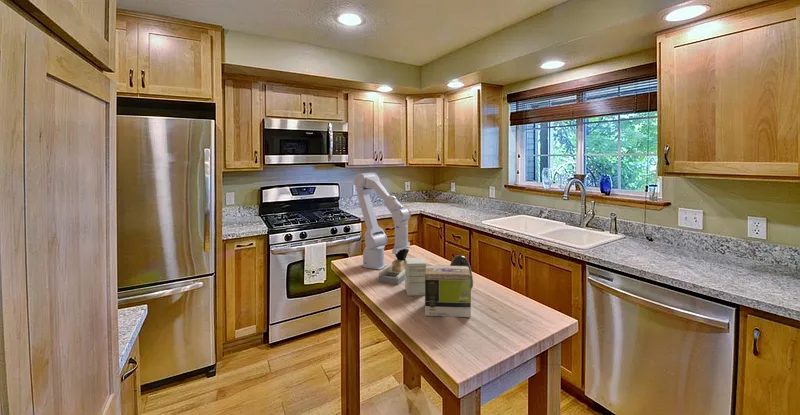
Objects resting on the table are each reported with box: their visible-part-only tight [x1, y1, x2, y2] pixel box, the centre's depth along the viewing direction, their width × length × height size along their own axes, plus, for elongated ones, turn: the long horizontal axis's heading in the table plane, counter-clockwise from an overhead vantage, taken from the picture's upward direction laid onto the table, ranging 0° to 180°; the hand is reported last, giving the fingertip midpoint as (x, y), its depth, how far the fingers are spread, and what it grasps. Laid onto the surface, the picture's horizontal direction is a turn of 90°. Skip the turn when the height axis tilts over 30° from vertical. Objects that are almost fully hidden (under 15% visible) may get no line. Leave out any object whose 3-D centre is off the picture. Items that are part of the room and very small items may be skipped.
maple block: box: [391, 259, 404, 272], centre depth 157 cm, size 4×4×4 cm
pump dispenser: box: [449, 254, 474, 290], centre depth 137 cm, size 10×10×15 cm
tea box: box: [424, 264, 472, 318], centre depth 122 cm, size 15×10×15 cm, turn 84°
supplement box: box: [404, 257, 427, 297], centre depth 139 cm, size 7×7×13 cm
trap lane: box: [378, 263, 405, 286], centre depth 160 cm, size 9×24×4 cm, turn 156°
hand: (401, 265), depth 160 cm, fingers closed
